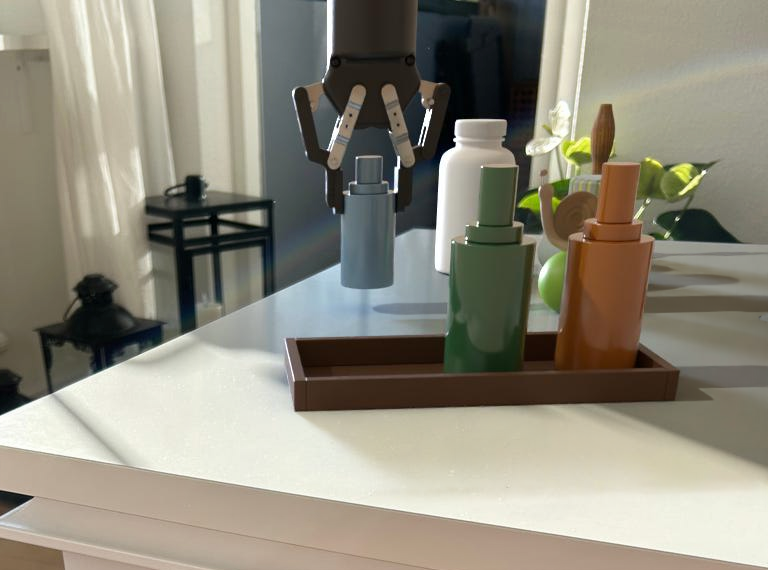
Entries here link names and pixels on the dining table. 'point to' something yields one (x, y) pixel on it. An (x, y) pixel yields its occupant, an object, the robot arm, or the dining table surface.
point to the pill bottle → (465, 179)
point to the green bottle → (490, 282)
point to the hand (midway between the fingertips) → (368, 211)
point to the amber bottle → (605, 280)
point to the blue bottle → (368, 228)
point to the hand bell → (602, 137)
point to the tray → (455, 376)
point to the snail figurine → (560, 235)
